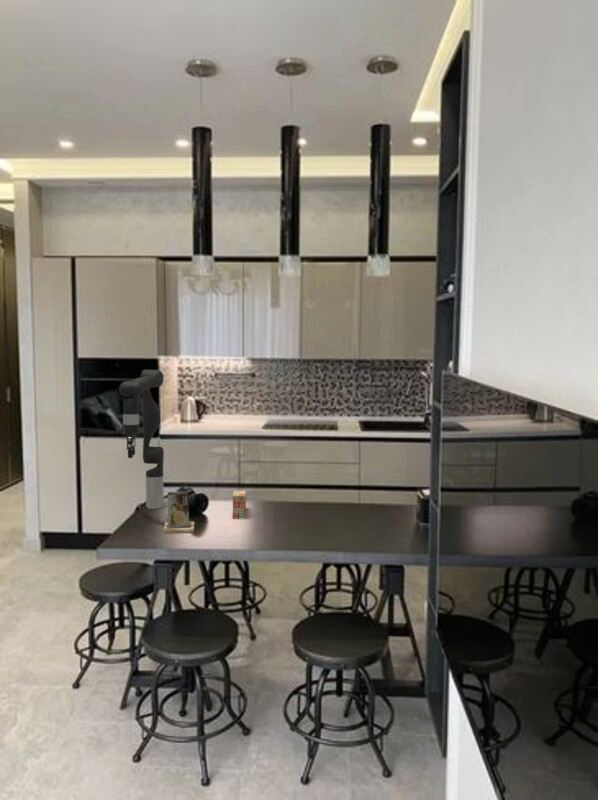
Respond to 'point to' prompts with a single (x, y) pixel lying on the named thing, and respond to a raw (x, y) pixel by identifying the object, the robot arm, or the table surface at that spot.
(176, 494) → the coffee box
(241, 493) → the printed cardboard box
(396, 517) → the table surface
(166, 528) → the birch plate
